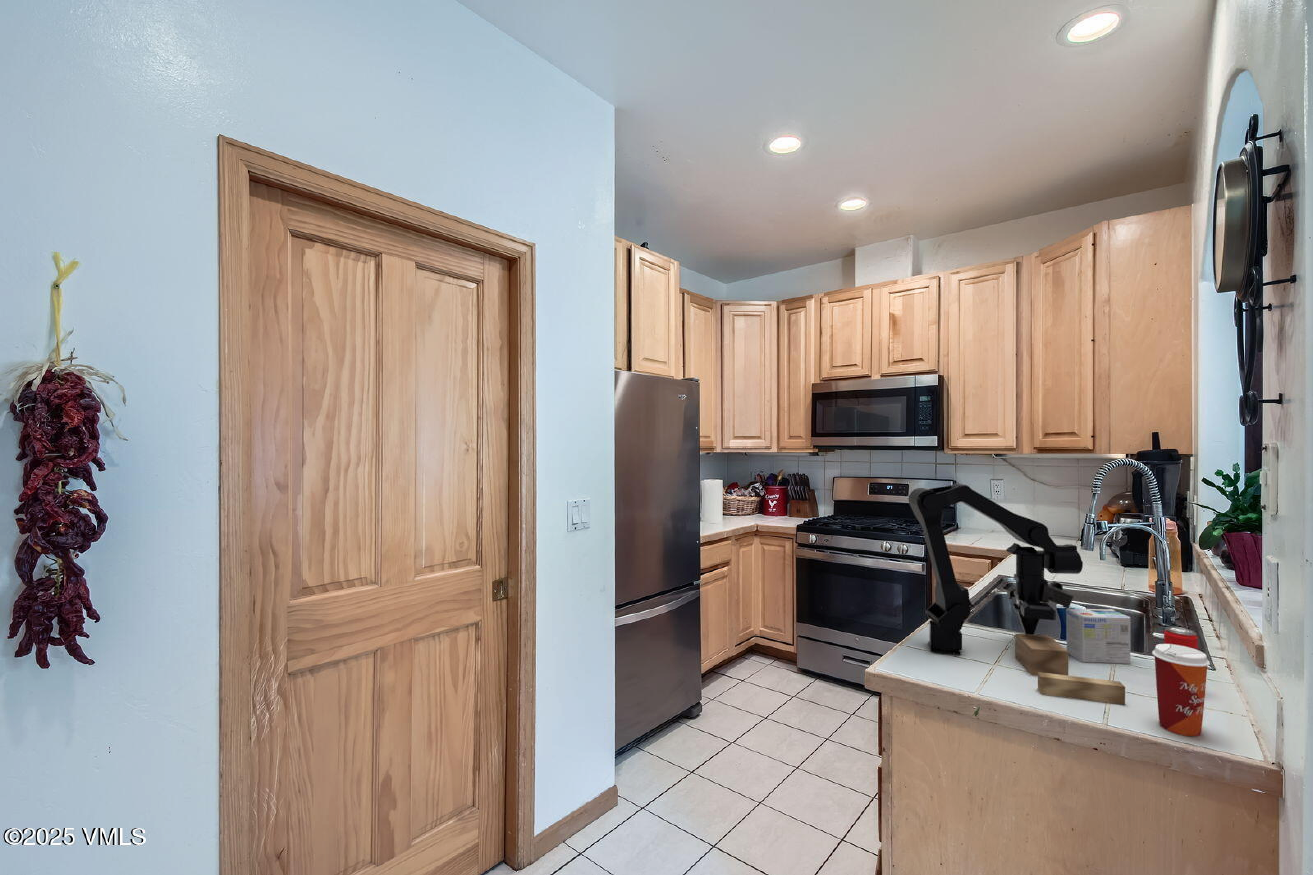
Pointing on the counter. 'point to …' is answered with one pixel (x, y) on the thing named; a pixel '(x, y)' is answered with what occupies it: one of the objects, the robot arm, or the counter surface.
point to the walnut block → (1041, 654)
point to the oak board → (1081, 688)
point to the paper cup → (1180, 688)
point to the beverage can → (1181, 637)
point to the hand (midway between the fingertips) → (1029, 637)
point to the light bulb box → (1098, 635)
